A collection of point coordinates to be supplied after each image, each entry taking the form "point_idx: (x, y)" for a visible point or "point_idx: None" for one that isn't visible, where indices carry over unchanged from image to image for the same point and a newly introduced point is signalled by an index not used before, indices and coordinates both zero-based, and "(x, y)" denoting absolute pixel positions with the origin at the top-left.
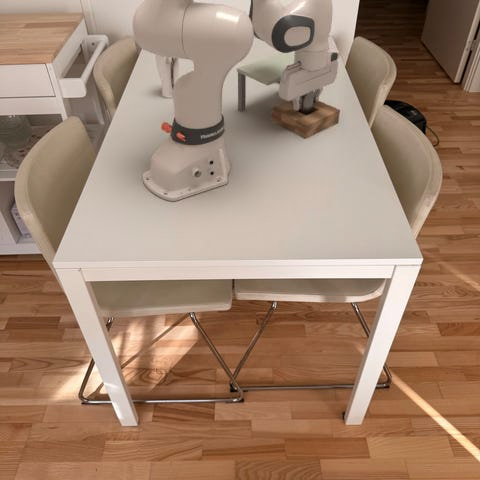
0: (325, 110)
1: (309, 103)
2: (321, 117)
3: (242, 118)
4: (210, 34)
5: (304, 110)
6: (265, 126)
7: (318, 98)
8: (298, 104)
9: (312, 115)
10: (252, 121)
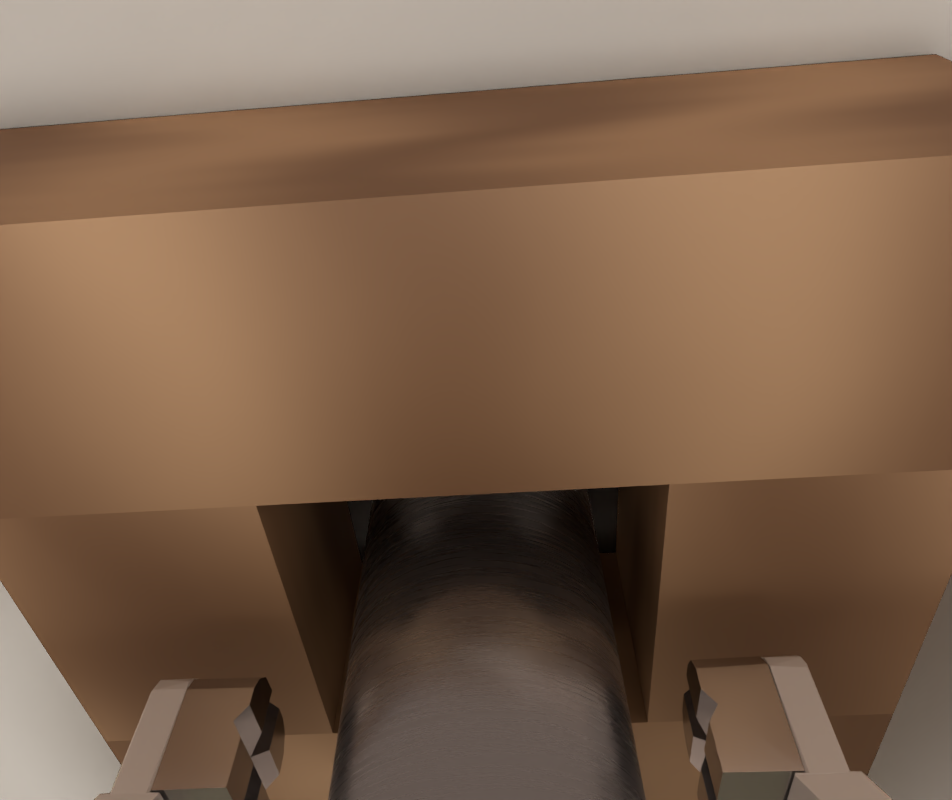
0: (155, 420)
1: (524, 715)
2: (466, 241)
3: (932, 793)
4: None
5: (593, 606)
6: (946, 618)
7: (144, 746)
8: (852, 791)
9: (565, 421)
10: (927, 731)
